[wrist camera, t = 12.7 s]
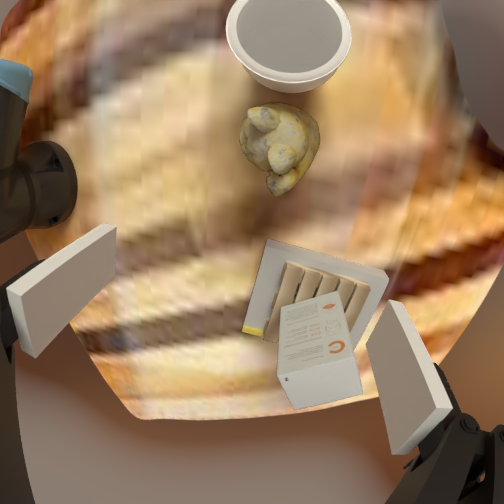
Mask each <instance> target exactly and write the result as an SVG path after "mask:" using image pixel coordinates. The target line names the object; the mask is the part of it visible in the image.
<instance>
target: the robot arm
mask: <svg viewBox="0 0 504 504" xmlns="http://www.w3.org/2000/svg"><path fill="white" fill-rule="evenodd" d="M32 81H33V73H32V70H31V69H30V68H29V67H28V66H26V65H23V64H20V63H16V62H12V61H8V60H4V59H0V244H1V243H3V242H4V241H6V240H8V239H9V238H11V237H13V236H15V235H16V234H18V233H20V232H22V231H24V230H26V229H42V228H50V227H53V226H55V225H57V224H59V223H61V222H63V221H64V220H65V219H67V217H68V216H69V215H70V213H71V212H72V210H73V208H74V205H75V201H76V196H77V178H76V172H75V169H74V166H73V163H72V161H71V159H70V157H69V155H68V154H67V152H66V151H65V150H64V149H63V148H62V147H61V146H60V145H59V144H57V143H55V142H52V141H41V142H36V143H33V144H30V145H29V146H27V147H26V148H24V149H23V150H21V151H20V152H19V153H18V150H19V144H20V138H21V132H22V127H23V123H24V118H25V113H26V109H27V105H28V104H29V94H30V90H31V85H32ZM115 245H116V227H115V226H112V225H108V224H105V223H103V224H101V225H99V226H98V227H96V228H95V229H93V230H91V231H90V232H88V233H86V234H85V235H83V236H82V237H80V238H78V239H77V240H75V241H74V242H72V243H71V244H69V245H68V246H66V247H64V248H63V249H61V250H60V251H58V252H57V253H55V254H54V255H52V256H51V257H49V258H48V259H46V260H45V259H43V260H40V261H37V262H35V263H33V264H31V265H30V266H28V267H27V268H25V270H22V271H21V272H20V273H19V274H17V275H15V276H14V277H13V278H11V279H10V280H8V281H7V282H6V283H4V284H3V285H1V286H0V504H35V501H34V498H33V494H32V490H31V486H30V482H29V478H28V474H27V469H26V464H25V459H24V454H23V448H22V442H21V436H20V428H19V421H18V412H17V400H16V385H15V350H14V346H13V343H14V342H15V341H16V340H17V339H19V343H20V346H21V349H22V351H24V352H26V353H27V354H29V355H31V356H33V357H34V358H37V356H38V355H39V354H40V353H41V352H42V351H43V350H44V348H46V347H47V345H48V344H49V343H50V342H51V341H52V340H53V339H54V338H55V337H56V336H57V335H58V333H60V332H61V330H62V329H63V328H64V327H65V326H66V325H67V324H68V323H69V322H70V321H71V320H72V319H73V318H74V317H75V316H76V315H77V314H78V313H79V312H80V311H81V310H82V309H83V308H84V307H85V306H86V305H87V304H88V303H89V302H90V301H91V300H92V299H93V298H94V297H95V296H96V295H97V294H98V293H99V292H100V291H101V290H102V289H103V288H104V287H105V286H106V285H107V284H108V283H109V282H110V281H111V280H112V279H113V278H114V275H115ZM366 348H367V351H368V355H369V358H370V362H371V366H372V370H373V373H374V377H375V381H376V385H377V389H378V393H379V397H380V401H381V405H382V410H383V414H384V419H385V423H386V428H387V433H388V436H389V442H390V447H391V452H392V454H409V453H410V452H411V451H412V450H414V448H416V446H418V447H419V451H420V453H419V454H418V455H417V456H416V457H415V458H413V459H412V460H411V461H410V462H409V463H408V464H407V465H406V466H405V467H403V468H404V469H406V468H407V467H408V466H409V468H408V469H407V471H406V473H405V474H404V476H403V477H402V479H401V481H400V482H399V484H398V485H397V487H396V488H395V490H394V491H393V493H392V494H391V495H390V497H389V498H388V500H387V501H386V503H385V504H504V425H498V426H496V427H495V428H494V429H493V430H492V431H491V432H486V431H483V430H480V427H479V424H478V423H477V421H476V420H475V419H474V418H473V417H472V416H470V415H468V414H465V413H461V410H460V408H459V406H458V403H457V401H456V399H455V397H454V394H453V392H452V390H451V389H450V385H449V383H448V382H447V379H446V377H445V375H444V373H443V371H442V370H441V369H440V367H439V366H438V365H437V364H436V363H433V362H432V360H431V358H430V356H429V354H428V352H427V350H426V348H425V346H424V343H423V341H422V340H421V338H420V336H419V334H418V332H417V330H416V328H415V326H414V324H413V322H412V320H411V318H410V316H409V314H408V313H407V311H406V309H405V307H404V305H403V303H401V302H397V301H393V300H388V302H387V304H386V306H385V308H384V310H383V312H382V314H381V316H380V318H379V320H378V322H377V324H376V326H375V328H374V330H373V332H372V334H371V335H370V337H369V339H368V341H367V343H366ZM484 473H485V478H484V480H483V481H482V482H480V477H481V476H482V475H483V474H484Z"/></svg>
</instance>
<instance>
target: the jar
mask: <svg viewBox="0 0 504 504" xmlns="http://www.w3.org/2000/svg"><path fill="white" fill-rule="evenodd" d="M226 35H227V40H228V43H229V46H230V48H231V50H232V52H233V53H234V55H235V56H236V57H237V59H238V60H239V61H240V62H241V64H242V65H243V67H244V68H245V70H246V71H247V72H248V73H249V75H250V76H251V77H253V78H254V79H255V80H256V81H257V82H259V83H260V84H262V85H264V86H266V87H268V88H270V89H272V90H275V91H279V92H284V93H301V92H306V91H310V90H313V89H315V88H317V87H319V86H321V85H322V84H324V83H325V82H326V81H328V80H329V79H330V78H331V77H332V76H333V74H334V73H335V72H336V70H337V69H338V67H339V66H340V65H341V64H342V63H343V61H344V60H345V58H346V56H347V54H348V52H349V49H350V45H351V39H352V32H351V26H350V22H349V19H348V17H347V15H346V13H345V11H344V10H343V8H342V7H341V6H340V4H339V3H338V2H337V1H336V0H237V1H236V2H235V3H234V5H233V6H232V8H231V10H230V12H229V15H228V18H227V22H226Z"/></svg>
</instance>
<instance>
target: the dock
mask: <svg viewBox="0 0 504 504" xmlns="http://www.w3.org/2000/svg"><path fill="white" fill-rule="evenodd" d="M285 260H286V261H290V262H294V263H297V264H301V265H305V266H309V267H312V268H316V269H320V270H324V271H327V272H331V273H335V274H339V275H342V276H346V277H350V278H354V279H357V280H361V281H365V282H368V284H369V286H370V289H371V290H370V293H369V295H368V297H367V299H366V301H365V303H364V306H363V308H362V310H361V312H360V314H359V316H358V318H357V320H356V322H355V324H354V326H353V328H352V330H351V332H350V336H351V340H352V344H353V349H354V350H355V348H356V346H357V344H358V342H359V340H360V339H361V337H362V335H363V333H364V331H365V329H366V327H367V325H368V323H369V321H370V319H371V317H372V315H373V313H374V311H375V309H376V307H377V305H378V303H379V301H380V299H381V297H382V295H383V292H384V290H385V288H386V286H387V284H388V282H389V278H388V277H387V275H386V273H385V272H384V270H380V269H377V268H373V267H370V266H366V265H363V264H359V263H355V262H352V261H348V260H345V259H341V258H337V257H334V256H330V255H327V254H323V253H319V252H316V251H312V250H308V249H305V248H301V247H297V246H294V245H290V244H286V243H283V242H279V241H275V240H271V239H268V238H267V242H266V245H265V249H264V252H263V256H262V260H261V263H260V267H259V270H258V274H257V278H256V281H255V285H254V288H253V292H252V296H251V299H250V303H249V306H248V310H247V313H246V317H245V321H244V325H243V329H242V332H245V333H249V334H253V335H256V336H260V337H264V335H263V329H264V326H265V323H266V320H267V318H269V319H270V316H271V313H272V310H273V308H272V301H273V298H274V295H275V292H276V291H279V288H280V285H281V282H282V279H281V273H282V270H283V267H284V263H285ZM299 285H300V283H298V286H297V289H296V291H295V294H294V296H296V294H297V291H298V288H299ZM316 290H317V288H316V289H315V292H314V295H315V293H316ZM314 295H313V297H312V298H314ZM349 298H350V297H349ZM346 305H347V304H346ZM345 307H346V306H345ZM278 341H279V338H278Z"/></svg>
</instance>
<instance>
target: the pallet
mask: <svg viewBox="0 0 504 504" xmlns="http://www.w3.org/2000/svg"><path fill="white" fill-rule="evenodd" d="M281 279H282V282H281V285H280V288H279V291H276V292H275V295H274V298H273V301H272V308H273V310H272V313H271V316H270V319H269V318H267V320H266V323H265V326H264V329H263V335H264V337H263V340H266V341H270V342H274V343H277V341H278V338H279V326H280V312H281V307H283V306H287V305H290V304H294V303H297V302H300V301H304V300H307V299H311V298H312V297H313V295H314V292H315V289H316V288H317V290H316V293H315V295H314V297H318V296H321V295H324V294H328V293H331V292H334V291H338V292H339V295H340V299H341V302H342V306H343V309H344V313H345V317H346V321H347V324H348V328H349V332H351V330H352V328H353V326H354V324H355V322H356V320H357V318H358V316H359V314H360V312H361V310H362V308H363V306H364V303H365V301H366V299H367V297H368V295H369V293H370V290H371V289H370V286H369V284H368V282H365V281H361V280H357V279H354V278H350V277H346V276H342V275H339V274H335V273H331V272H327V271H324V270H320V269H316V268H312V267H309V266H305V265H301V264H297V263H294V262H290V261H286V260H285V263H284V267H283V270H282V273H281ZM298 283H300V285H299V288H298V291H297V294H296V296H294V294H295V291H296V289H297V286H298ZM349 297H350V298H349ZM346 304H347V305H346ZM345 306H346V307H345Z"/></svg>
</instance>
